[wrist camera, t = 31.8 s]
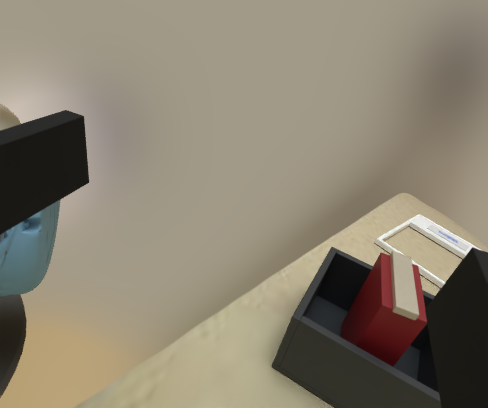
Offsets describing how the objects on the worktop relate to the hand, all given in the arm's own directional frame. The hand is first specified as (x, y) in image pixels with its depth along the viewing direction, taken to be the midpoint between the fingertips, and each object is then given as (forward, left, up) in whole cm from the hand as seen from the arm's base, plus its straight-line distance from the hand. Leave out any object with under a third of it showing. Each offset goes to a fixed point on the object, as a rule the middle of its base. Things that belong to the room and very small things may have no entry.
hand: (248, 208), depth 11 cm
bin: (+9, +21, -28) cm, 36 cm away
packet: (+9, +21, -27) cm, 36 cm away
